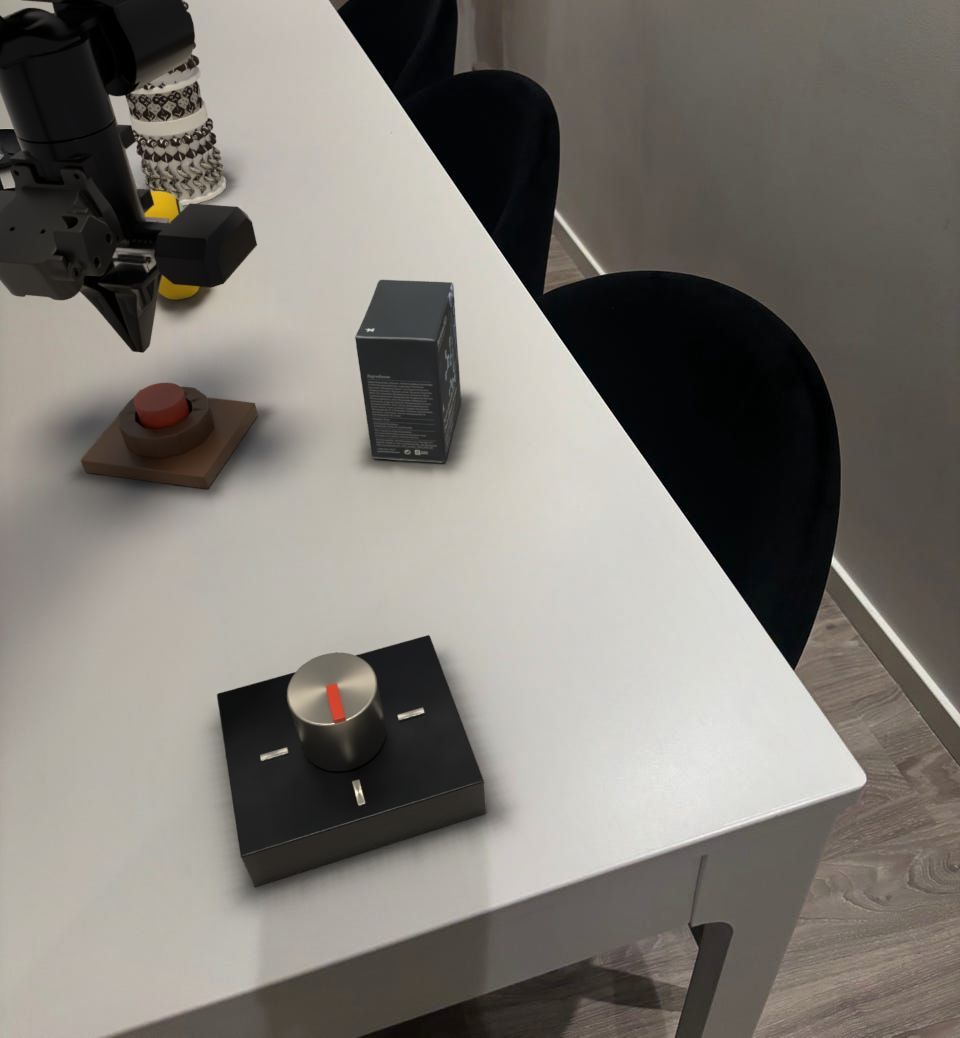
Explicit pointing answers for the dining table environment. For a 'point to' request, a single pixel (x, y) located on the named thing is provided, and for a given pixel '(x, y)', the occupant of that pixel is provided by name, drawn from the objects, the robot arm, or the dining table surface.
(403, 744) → the panel
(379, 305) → the box
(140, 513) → the dining table surface
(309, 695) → the knob
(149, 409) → the button
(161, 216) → the duckling
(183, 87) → the decorative candle
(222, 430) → the button block
